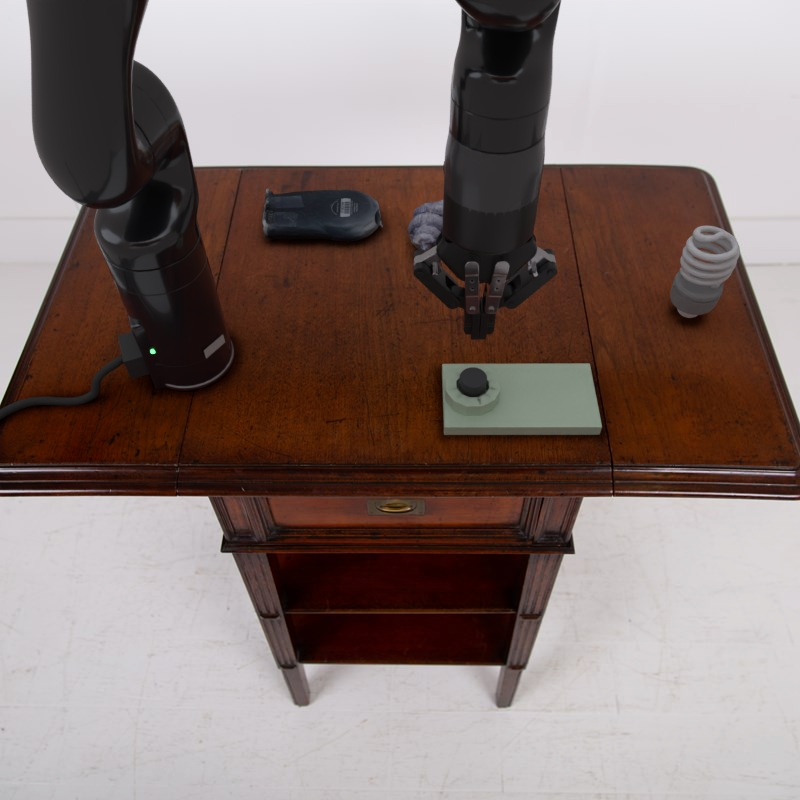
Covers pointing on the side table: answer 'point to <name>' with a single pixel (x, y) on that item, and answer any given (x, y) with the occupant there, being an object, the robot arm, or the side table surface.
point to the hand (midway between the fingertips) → (478, 333)
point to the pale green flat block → (523, 401)
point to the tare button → (473, 382)
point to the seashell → (426, 225)
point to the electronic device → (320, 215)
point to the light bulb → (703, 271)
